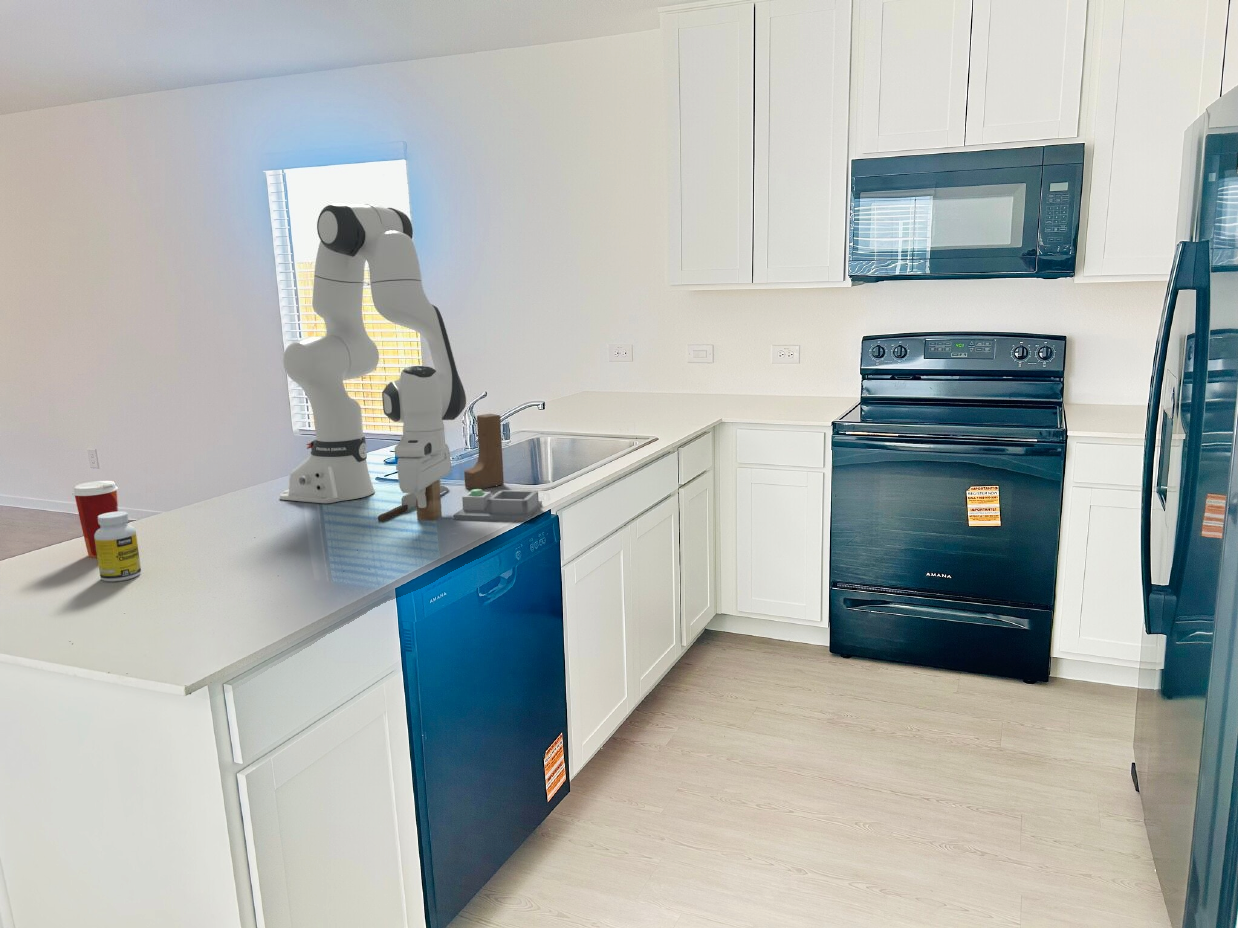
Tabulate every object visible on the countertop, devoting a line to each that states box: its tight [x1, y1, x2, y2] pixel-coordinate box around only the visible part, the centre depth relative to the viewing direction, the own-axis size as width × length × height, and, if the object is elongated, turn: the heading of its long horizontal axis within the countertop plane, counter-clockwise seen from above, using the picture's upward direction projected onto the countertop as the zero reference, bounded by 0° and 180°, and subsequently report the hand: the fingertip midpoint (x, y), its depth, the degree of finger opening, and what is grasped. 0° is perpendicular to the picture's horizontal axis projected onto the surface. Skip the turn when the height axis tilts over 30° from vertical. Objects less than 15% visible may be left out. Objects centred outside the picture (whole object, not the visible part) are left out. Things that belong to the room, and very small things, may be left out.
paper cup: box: [72, 480, 119, 559], centre depth 170 cm, size 8×8×14 cm
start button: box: [470, 489, 484, 496], centre depth 196 cm, size 3×3×3 cm
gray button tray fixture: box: [452, 489, 543, 523], centre depth 196 cm, size 16×14×4 cm
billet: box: [415, 480, 443, 521], centre depth 192 cm, size 4×4×8 cm
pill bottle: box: [94, 510, 142, 583], centre depth 156 cm, size 6×6×12 cm
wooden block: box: [463, 413, 505, 491], centre depth 219 cm, size 9×4×18 cm, turn 130°
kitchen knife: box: [377, 485, 451, 523], centre depth 204 cm, size 4×1×30 cm
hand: (428, 503), depth 192 cm, fingers open, 5 cm apart
